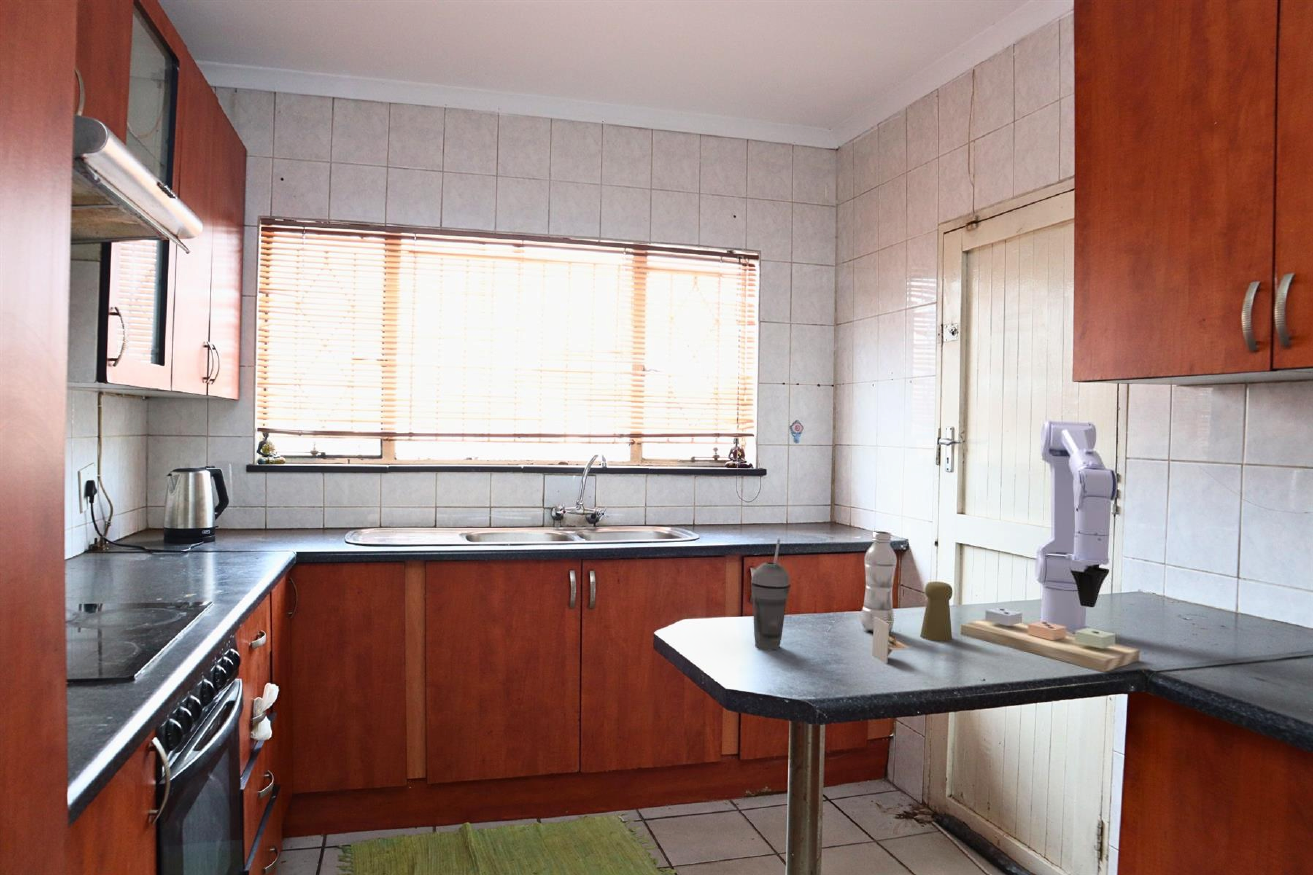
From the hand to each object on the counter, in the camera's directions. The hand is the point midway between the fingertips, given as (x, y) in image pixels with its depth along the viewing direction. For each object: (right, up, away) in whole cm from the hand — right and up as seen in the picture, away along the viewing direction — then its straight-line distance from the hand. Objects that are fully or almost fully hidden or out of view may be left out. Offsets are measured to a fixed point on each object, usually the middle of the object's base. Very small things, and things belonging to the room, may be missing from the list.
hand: (1087, 606), depth 155 cm
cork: (-25, -8, +10) cm, 28 cm away
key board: (-5, -9, +6) cm, 12 cm away
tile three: (-5, -7, +6) cm, 10 cm away
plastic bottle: (-36, -8, +12) cm, 39 cm away
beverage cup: (-60, -7, -2) cm, 61 cm away
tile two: (-10, -6, +13) cm, 18 cm away
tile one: (+1, -7, -1) cm, 7 cm away
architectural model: (-40, -9, -7) cm, 42 cm away
